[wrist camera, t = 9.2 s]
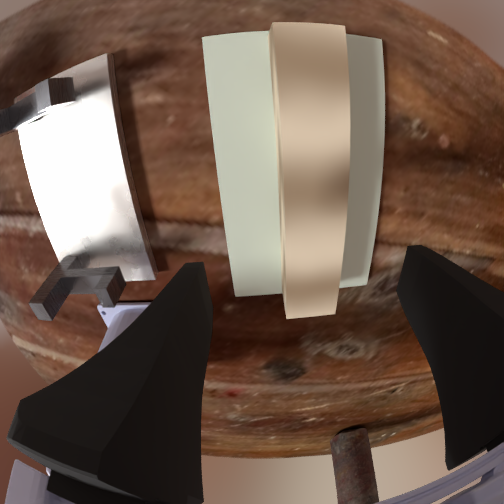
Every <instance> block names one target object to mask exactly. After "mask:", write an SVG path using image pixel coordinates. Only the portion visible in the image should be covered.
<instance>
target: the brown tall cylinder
mask: <svg viewBox="0 0 504 504" xmlns="http://www.w3.org/2000/svg"><path fill="white" fill-rule="evenodd" d="M330 443H331V451H332V459H333V466H334V474H335V480H336V489H337V498H338V504H374V503H377V502H379V498H378V491H377V484H376V479H375V472H374V467H373V460H372V454H371V448H370V443H369V438H368V433H367V430H366V428H360V429H352V430H350V429H349V430H345V431H342V432H341V433H340V434H338V435H336V436H335V437H334V438H333V439H332V440H330Z"/></svg>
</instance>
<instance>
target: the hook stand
mask: <svg viewBox="0 0 504 504" xmlns="http://www.w3.org/2000/svg"><path fill="white" fill-rule="evenodd" d="M17 130H18V131H19V137H20V142H21V146H22V151H23V156H24V160H25V164H26V168H27V172H28V175H29V179H30V183H31V186H32V189H33V193H34V196H35V199H36V202H37V205H38V208H39V211H40V214H41V217H42V220H43V223H44V225H45V228H46V231H47V233H48V236H49V238H50V241H51V243H52V246H53V248H54V250H55V253H56V255H57V257H58V260H59V262H60V263H59V264H58V265H57V266H56V267H55V269H54V270H53V271H52V272H51V274H50V275H49V276H48V278H47V279H46V280H45V281H44V283H43V284H42V285H41V287H40V288H39V289H38V291H37V292H36V293H35V295H34V296H33V298H32V299H31V300H30V302H29V305H30V306H31V308H32V310H33V311H34V313H35V315H36V316H37V318H38V319H39V320H49V321H52V320H53V319H54V317H55V315H56V314H57V312H58V311H59V309H60V307H61V306H62V304H63V303H64V301H65V299H66V298H67V296H68V295H69V294H96V295H97V297H98V299H99V301H100V303H101V305H102V307H103V308H115V306H116V304H117V302H118V300H119V298H120V296H121V294H122V292H123V290H124V288H125V286H126V282H125V281H139V280H156V277H157V275H158V269H157V265H156V262H155V259H154V256H153V252H152V249H151V246H150V242H149V239H148V235H147V232H146V228H145V224H144V221H143V217H142V213H141V209H140V205H139V201H138V197H137V193H136V189H135V185H134V180H133V176H132V171H131V167H130V162H129V157H128V152H127V147H126V142H125V136H124V131H123V125H122V119H121V113H120V106H119V99H118V92H117V84H116V76H115V66H114V56H113V54H108V53H106V54H103V55H101V56H98V57H95V58H93V59H90V60H88V61H85V62H83V63H81V64H78V65H76V66H74V67H72V68H69V69H67V70H65V71H63V72H61V73H59V74H57V75H55V76H53V77H51V78H48V79H46V80H44V81H42V82H40V83H38V84H37V85H35V86H34V87H32V88H31V89H29V90H27V91H26V92H24V93H22V94H21V95H19V96H17V97H16V98H14V105H12V106H10V107H9V108H6V109H2V110H0V137H1V136H4V135H6V134H9V133H12V132H14V131H17Z"/></svg>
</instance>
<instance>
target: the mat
mask: <svg viewBox="0 0 504 504" xmlns="http://www.w3.org/2000/svg"><path fill="white" fill-rule="evenodd" d="M268 34H269V31H256V32H242V33H231V34H222V35H214V36H207V37H202V41H203V52H204V62H205V71H206V81H207V90H208V99H209V108H210V117H211V125H212V134H213V142H214V150H215V158H216V166H217V174H218V181H219V189H220V196H221V204H222V211H223V218H224V225H225V232H226V239H227V246H228V253H229V259H230V266H231V273H232V279H233V286H234V292H235V297H239V296H254V295H267V294H280V293H282V278H281V243H280V215H279V192H278V172H277V154H276V137H275V122H274V107H273V94H272V81H271V69H270V57H269V46H268ZM346 42H347V54H348V68H349V87H350V172H349V192H348V208H347V221H346V232H345V243H344V252H343V261H342V270H341V277H340V285H339V288H343V287H352V286H361V285H367V280H368V275H369V270H370V265H371V259H372V253H373V247H374V241H375V234H376V227H377V220H378V212H379V204H380V194H381V184H382V172H383V157H384V136H385V82H384V62H383V49H382V39H377V38H371V37H365V36H358V35H350V34H346Z"/></svg>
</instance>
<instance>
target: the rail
mask: <svg viewBox="0 0 504 504" xmlns="http://www.w3.org/2000/svg"><path fill="white" fill-rule="evenodd" d="M268 46H269V57H270V69H271V81H272V94H273V107H274V122H275V137H276V154H277V172H278V192H279V215H280V243H281V278H282V293H283V299H284V306H285V313H286V319H292V318H303V317H313V316H322V315H331V314H335V312H336V306H337V299H338V292H339V285H340V277H341V270H342V261H343V252H344V243H345V232H346V221H347V208H348V192H349V172H350V87H349V68H348V54H347V42H346V32H345V26H342V25H332V24H320V23H299V22H273V23H272V25H271V28H270V31H269V34H268Z"/></svg>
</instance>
